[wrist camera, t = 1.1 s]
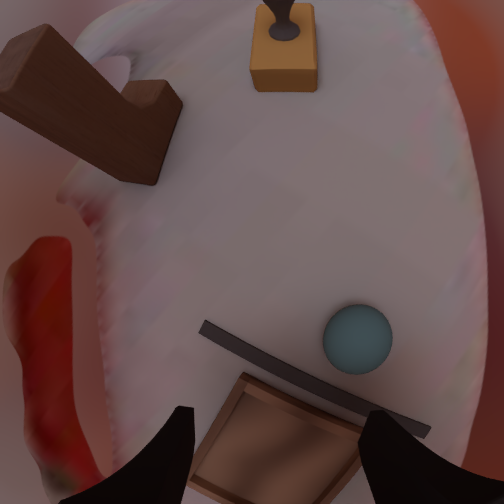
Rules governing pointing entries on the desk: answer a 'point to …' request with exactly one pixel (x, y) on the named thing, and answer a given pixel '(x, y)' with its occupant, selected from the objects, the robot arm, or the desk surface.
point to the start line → (304, 378)
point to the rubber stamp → (284, 47)
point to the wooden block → (87, 106)
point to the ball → (357, 339)
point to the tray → (274, 450)
